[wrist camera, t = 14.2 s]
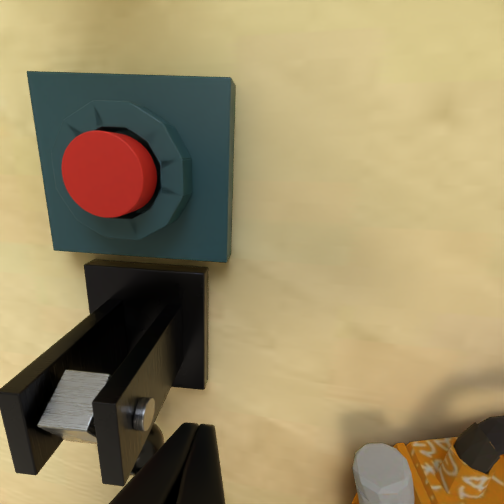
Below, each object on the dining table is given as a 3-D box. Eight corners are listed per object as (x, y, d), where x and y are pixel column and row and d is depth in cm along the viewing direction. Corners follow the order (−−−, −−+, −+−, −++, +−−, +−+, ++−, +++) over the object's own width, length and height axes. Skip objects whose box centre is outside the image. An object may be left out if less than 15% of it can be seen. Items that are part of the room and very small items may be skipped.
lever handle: (173, 428, 23) (160, 480, 21) (132, 424, 23) (115, 475, 21) (124, 365, 14) (94, 444, 12) (58, 359, 15) (18, 436, 12)
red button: (159, 214, 16) (145, 220, 15) (87, 210, 17) (66, 215, 15) (155, 135, 15) (140, 132, 14) (78, 131, 16) (55, 128, 14)
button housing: (231, 254, 20) (221, 273, 17) (70, 243, 21) (31, 259, 17) (235, 84, 17) (225, 67, 14) (48, 78, 18) (-4, 60, 15)
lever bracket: (208, 378, 23) (160, 528, 14) (106, 369, 24) (-7, 506, 14) (208, 267, 20) (149, 357, 11) (93, 258, 21) (-55, 338, 12)
